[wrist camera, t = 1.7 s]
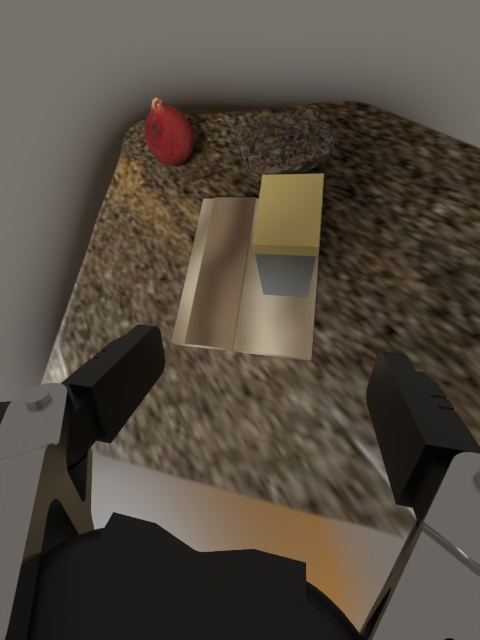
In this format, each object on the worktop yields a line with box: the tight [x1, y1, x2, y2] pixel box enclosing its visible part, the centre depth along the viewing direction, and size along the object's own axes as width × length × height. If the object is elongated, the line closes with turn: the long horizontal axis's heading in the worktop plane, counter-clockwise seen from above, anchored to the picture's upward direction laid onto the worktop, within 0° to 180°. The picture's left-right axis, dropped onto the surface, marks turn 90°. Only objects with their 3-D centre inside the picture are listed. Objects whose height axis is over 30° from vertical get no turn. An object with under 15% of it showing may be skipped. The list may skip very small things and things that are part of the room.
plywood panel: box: [172, 197, 323, 360], centre depth 28 cm, size 14×18×1 cm
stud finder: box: [252, 174, 324, 298], centre depth 23 cm, size 4×6×9 cm
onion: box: [145, 97, 194, 166], centre depth 32 cm, size 6×6×8 cm
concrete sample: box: [234, 108, 335, 188], centre depth 31 cm, size 12×10×5 cm
